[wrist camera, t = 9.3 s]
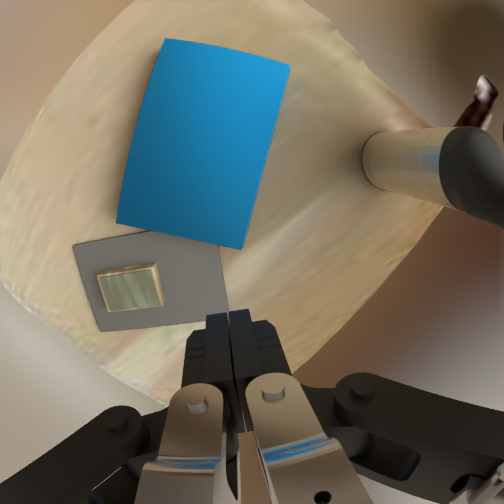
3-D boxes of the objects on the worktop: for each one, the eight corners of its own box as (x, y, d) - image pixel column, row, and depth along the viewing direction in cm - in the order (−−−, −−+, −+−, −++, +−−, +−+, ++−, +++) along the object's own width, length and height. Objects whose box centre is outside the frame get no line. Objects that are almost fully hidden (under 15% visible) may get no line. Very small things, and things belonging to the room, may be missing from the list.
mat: (214, 220, 40) (214, 221, 40) (229, 315, 45) (230, 317, 44) (74, 244, 38) (72, 245, 38) (101, 330, 43) (100, 332, 43)
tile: (153, 267, 38) (96, 276, 37) (163, 306, 40) (107, 313, 39) (156, 262, 40) (101, 270, 40) (165, 299, 42) (112, 306, 41)
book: (115, 224, 34) (162, 36, 28) (125, 218, 38) (167, 48, 32) (246, 251, 37) (294, 64, 31) (243, 242, 41) (286, 73, 35)
